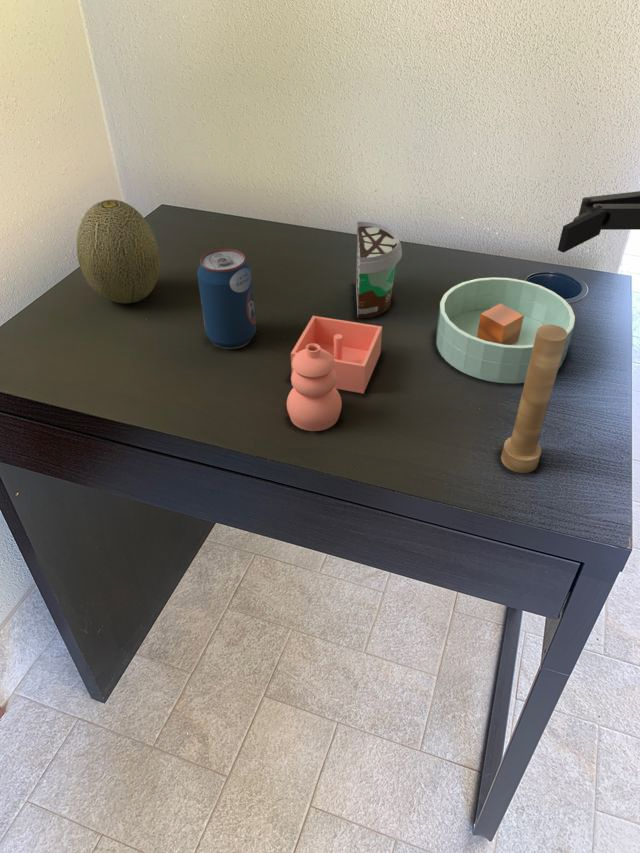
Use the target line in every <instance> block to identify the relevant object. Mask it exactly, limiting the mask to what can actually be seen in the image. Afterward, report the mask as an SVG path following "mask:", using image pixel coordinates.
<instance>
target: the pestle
mask: <svg viewBox="0 0 640 853" xmlns="http://www.w3.org/2000/svg"><path fill="white" fill-rule="evenodd" d="M566 339H567V332H566V330H565V329H563V328H562V327H559V326H556V325H550V324H548V325H542V326H540V327H539V328H538V329H537V333H536V337H535V341H534V345H533V349H532V354H531V358H530V362H529V366H528V370H527V375H526V379H525V383H523V388H522V390H521V391H522V392H521V395H520V399H519V403H518V408H517V412H516V416H515V421H514V425H513V429H512V433H511V434H512V435H511V436H510V437H508V438H507V439H506V440H505V441H504V443H503V447H502V451H501V456H500V460H501V462H502V464H503V466H504V467H505V468H506V469H508V470H509V471H511V472H513V473H514V472H515V473H518V474H527V473H528V474H529V473H531V472H533V471H535V470H536V469H537V467H538V465H539V462H540V459H541V455H542V447H541V445H540V443H539V440H540V437H541V433H542V429H543V426H544V422H545V420H546V415H547V412H548V408H549V405H550V400H551V397H552V394H553V390H554V386H555V383H556V379H557V375H558V372H559V369H560V368H559V364H560V361H561V357H562V353H563V350H564V346H565V343H566ZM558 368H559V369H558Z"/></svg>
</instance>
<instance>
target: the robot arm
mask: <svg viewBox="0 0 640 853" xmlns="http://www.w3.org/2000/svg"><path fill="white" fill-rule="evenodd" d="M604 230H606V231H607V230H608V231H609V230H612V231H614V230H616V231H617V230H620V231H621V230H622V231H623V230H624V231H625V230H629V231H631V230H634V231H636V230H637V231H638V230H640V190H638V191H637V190H636V191H630V192H619V193H610V194H601V195H593V196H585V197H582V199H581V203H580V207H579V211H578V214H577V216H575V217H574V218H573V219H572V221H571V222H569V223H567V224H565V225H563V226H562V229H561V233H560V237H559V242H558V246H557V251H558V252H560V253H563V254H564V253H566V252H568V251H570V250H571V249H575V247H578V246H579V245H582V244H584V243H585V242H587V241H590V240H591V239H594V238H595V237H597V236H599V235H601V231H604Z"/></svg>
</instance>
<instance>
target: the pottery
mask: <svg viewBox="0 0 640 853" xmlns="http://www.w3.org/2000/svg"><path fill="white" fill-rule="evenodd" d="M382 337H383V326H382V325H381V326H380V325H375V324H368V323H362V322H356V321H349V320H342V319H338V318H337V319H336V318H329V317H324V316H317V315H312V317H311V318H310V320H309V321H308V323H307V325H306V327H305V329H304V330H303V331H302V333H301V335H300V337H299V338H298V340H297V342H296V344H295V345H294V347H293V349H292V351H291V352H290V367H291V368H290V369H291V376H290V381H291V386H292V389H291V390H290V392H289V393H288V396H287V398H286V410H287V413H288V416H289V418H290V422H292V424H293V425H294V426H295V427H297V428H298V429H301V430H304V431H309V432H321V431H325V430H327V429H329V428H332V427H333V426H334V425H335V424H336V423H337V422H338V420H339V418H340V415H341V411H342V408H343V401H342V396H341V395H340V393H339V390H342V391H348V392H354V393H358V394H365V392H366V389H367V387H368V384H369V382H370V380H371V377H372V375H373V373H374V370H375V367H376V365H377V364H378V360H379V358H380V355H381V352H382Z"/></svg>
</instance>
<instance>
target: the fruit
mask: <svg viewBox="0 0 640 853" xmlns="http://www.w3.org/2000/svg"><path fill="white" fill-rule="evenodd" d="M156 239H157V238H156V237H155V234H154V231H153V230H152V228H151V226H150V224H149V223H148V221H147V219H145V217H144V216H143V214H141V213H140V212H139V211H138V210H137V209H136V208H134V207H133V206H131V205H130V204H129V203H126V202H125V201H122V200H119V199H105V200H102V201H99V202H97V203H95V204H92V206H91V207H89V208H88V210H86V212H85V213H84V215H83V216H82V218H81V220H80V224H79V226H78V230H77V234H76V256H77V261H78V265H79V268H80V271H81V273H82V275H83V278H84V279H85V280H86V282H87V283H88V285H89V286H90V287H91V289H92V290H94V292H96V293H97V294H98V295H99V296H100V297H102V298H104V299H106V300H109V301H111V302H114V303H118V304H133V303H139V302H140V301H142V300H144V299H145V298H146V297H148V296H149V295H150V294H151V293H152V291H153V290H154V288H155V286H156V283H157V282H158V279H159V275H160V273H161V272H160V271H161V254H160V249H159V245H158V242H157V240H156Z"/></svg>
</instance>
